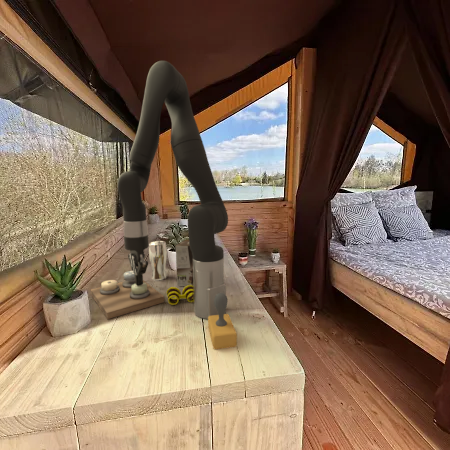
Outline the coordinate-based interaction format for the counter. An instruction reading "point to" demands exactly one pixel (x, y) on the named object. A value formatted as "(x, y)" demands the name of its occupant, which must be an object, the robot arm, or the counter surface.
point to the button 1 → (109, 285)
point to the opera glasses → (175, 292)
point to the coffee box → (184, 264)
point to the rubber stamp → (221, 325)
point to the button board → (125, 299)
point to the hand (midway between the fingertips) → (139, 284)
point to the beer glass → (158, 259)
